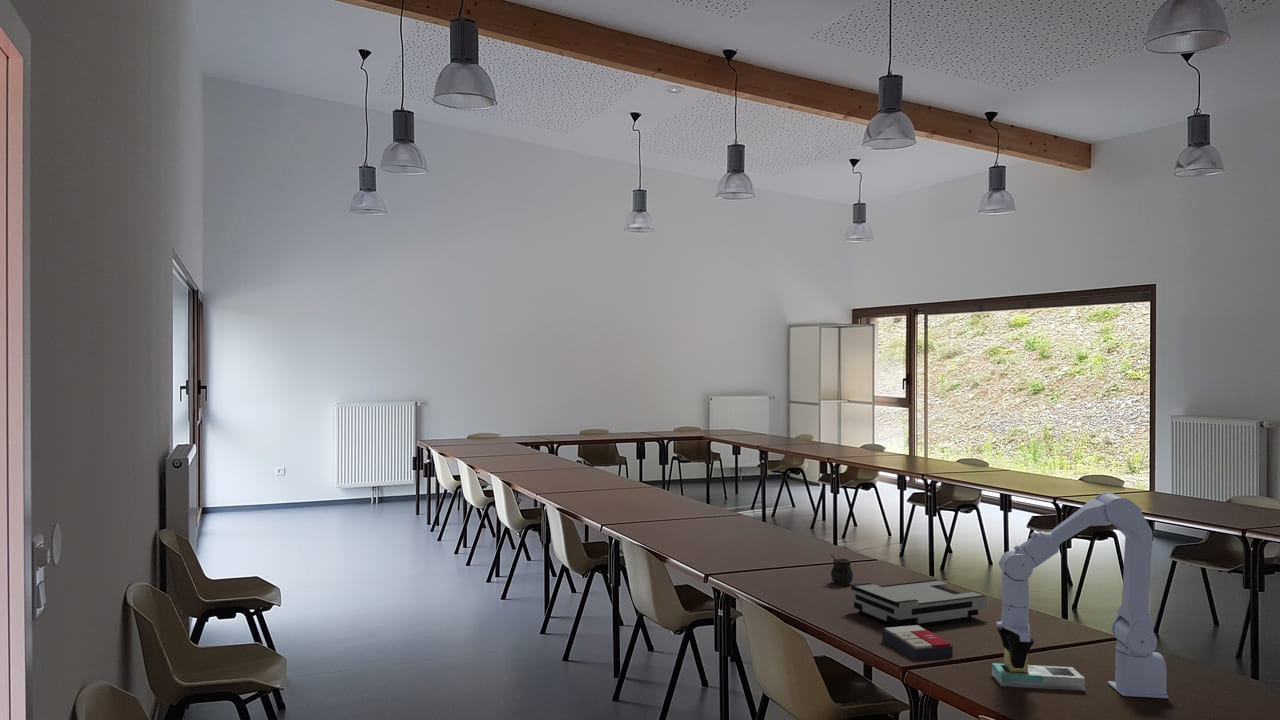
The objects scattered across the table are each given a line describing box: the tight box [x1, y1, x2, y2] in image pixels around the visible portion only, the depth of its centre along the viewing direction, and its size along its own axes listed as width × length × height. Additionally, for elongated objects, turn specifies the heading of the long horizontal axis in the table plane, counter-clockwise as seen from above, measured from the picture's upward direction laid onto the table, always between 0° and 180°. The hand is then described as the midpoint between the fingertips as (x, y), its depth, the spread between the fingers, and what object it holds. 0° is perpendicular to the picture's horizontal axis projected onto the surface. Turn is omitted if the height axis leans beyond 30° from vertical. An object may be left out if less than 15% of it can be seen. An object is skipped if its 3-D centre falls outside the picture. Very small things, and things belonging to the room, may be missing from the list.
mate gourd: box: [829, 553, 854, 586], centre depth 281 cm, size 7×8×10 cm
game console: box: [850, 579, 988, 629], centre depth 245 cm, size 21×32×8 cm, turn 114°
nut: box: [1003, 647, 1029, 674], centre depth 193 cm, size 4×4×6 cm
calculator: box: [881, 625, 954, 661], centre depth 216 cm, size 11×4×15 cm
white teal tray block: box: [991, 662, 1086, 692], centre depth 193 cm, size 18×7×3 cm, turn 83°
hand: (1014, 663), depth 193 cm, fingers open, 5 cm apart
